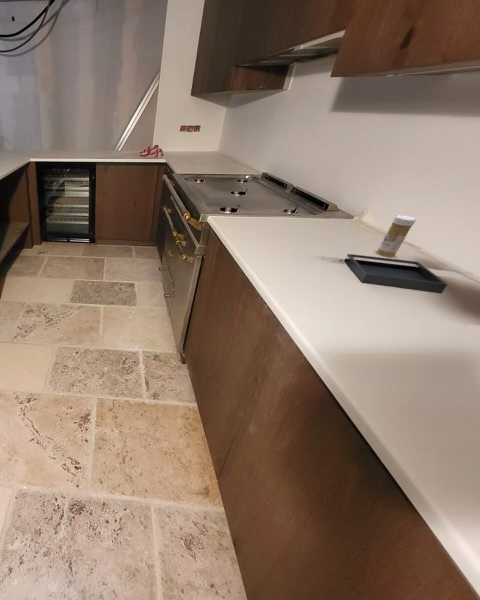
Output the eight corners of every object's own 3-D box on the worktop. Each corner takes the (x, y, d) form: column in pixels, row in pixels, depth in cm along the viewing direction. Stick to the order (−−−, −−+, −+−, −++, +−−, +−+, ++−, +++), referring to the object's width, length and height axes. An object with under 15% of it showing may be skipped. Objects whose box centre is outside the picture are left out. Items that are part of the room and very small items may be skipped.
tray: (413, 269, 93) (418, 261, 92) (441, 293, 82) (447, 284, 80) (344, 261, 98) (347, 253, 97) (362, 282, 86) (366, 274, 85)
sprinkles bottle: (369, 256, 101) (391, 214, 94) (383, 256, 101) (406, 214, 94) (381, 263, 97) (405, 219, 90) (395, 263, 97) (421, 219, 90)
